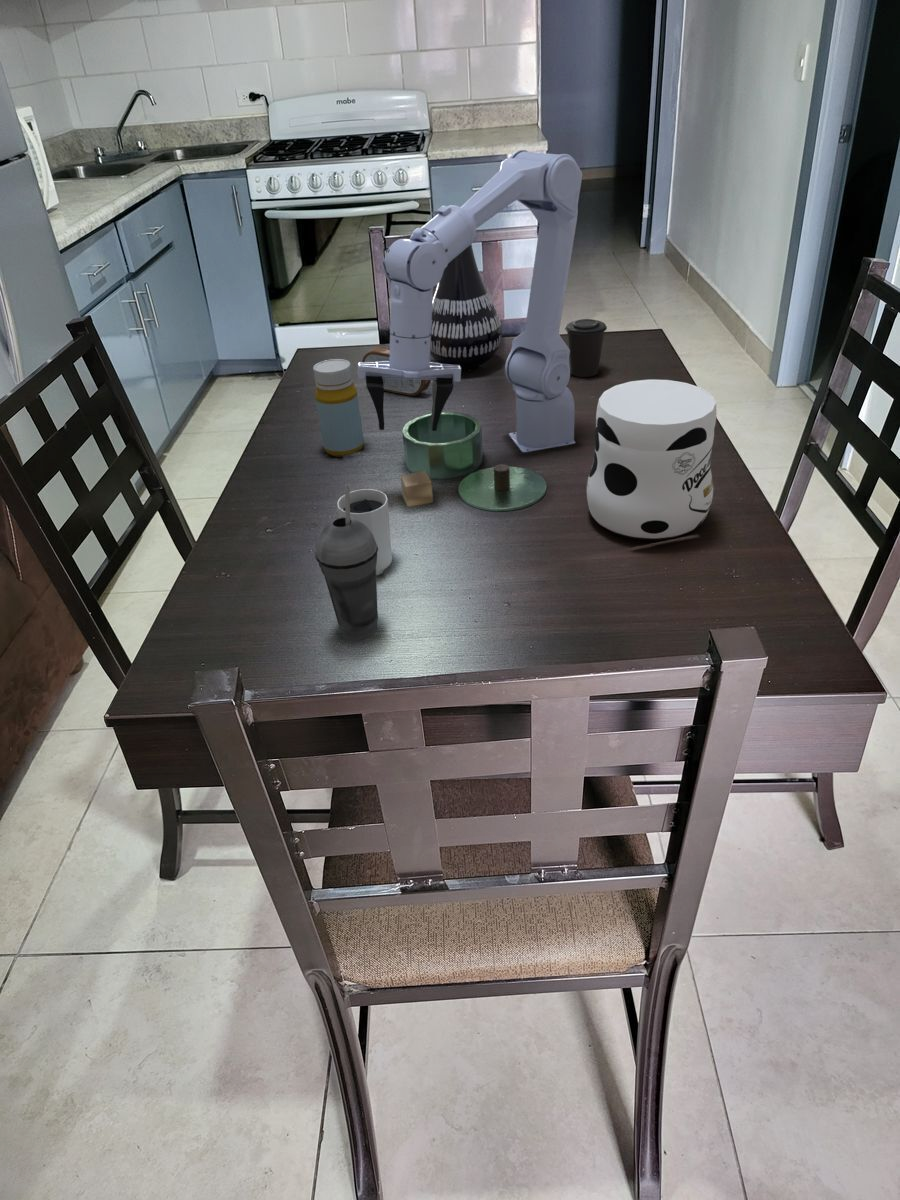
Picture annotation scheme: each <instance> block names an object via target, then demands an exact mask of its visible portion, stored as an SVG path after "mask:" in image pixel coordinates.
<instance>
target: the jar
mask: <svg viewBox="0 0 900 1200" xmlns="http://www.w3.org/2000/svg"><path fill="white" fill-rule="evenodd" d="M431 414H432V413H427V414H423V415H420V416H417V417H415V418H412V419H411V420H409V421H408V422H407V423H405V425H404V426H403V429H402V431H401V434H402V443H403V453H404V460H405V466H406V468H407V470H408V471H409V472H411V473H416V472H422V471H426V473H427V475H428V477H429V478H430V480H432V479H433V480H448V479H454V478H460V477H464V476H465V475H469V474H471V473H474V472H475V471H476V470H477V469H478V468H479V467H480V466H482V462H483V459H484V455H483V435H482V434H483V433H482V430H483V429H482V424H481V422H480V421H479V419H478V418H476V417H474V416H472V415H469V414H467V413H462V412H456V411H455V412H454V411H444V412H443V411H442V412H441V415H440V418H439V421H438V425H437V431H432V429H431Z"/></svg>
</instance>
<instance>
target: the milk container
mask: <svg viewBox="0 0 900 1200" xmlns="http://www.w3.org/2000/svg"><path fill="white" fill-rule="evenodd" d="M716 423H717V402H716V400H715V398H714V396H713V394H711V393H710V392H708V391H707V390H706V389H704V388H703V387H700V386H697V385H694V384H691V383H688V382H684V381H677V380H671V379H640V380H632V381H631V380H630V381H627V382H623V383H620V384H619V383H618V384H616V385H614V386H612V387H609V388H608V389H607V390H604V391H603V393H602V394H601V395H600V397H599V398H598V401H597V406H596V413H595V431H594V456H593V461H592V464H591V468H590V470H589V474H588V477H587V482H586V501H587V506H588V511H589V512H590V515H591V517H592V518H593V519H594V521H595V522H596V524H597V525H599V526H600V527H602V528H604V529H605V530H607V531H608V532H610V533H613V534H615V535H616V536H620V537H624V538H628V539H631V540H637V541H650V542H655V541H663V540H672V539H675V538H677V537H678V538H679V537H681V536H685V535H687V534H689V533H691V532H694V531H695V530H696V529H697V528H698V527H700V526H701V525H702V524H703V522H704V521H705V520H706V518H707V516H708V514H709V511H710V509H711V505H712V502H713V498H714V497H713V496H714V482H713V481H714V480H713V474H712V468H711V457H712V451H713V446H714V439H715V427H716Z"/></svg>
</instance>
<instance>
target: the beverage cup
mask: <svg viewBox="0 0 900 1200" xmlns="http://www.w3.org/2000/svg"><path fill="white" fill-rule="evenodd" d="M350 488H351V487H350V484H345V485H344V495H345V517H340V516H339V517H336V518H334V519H331V520H329V522H327V523H326V524H325V525H324V526H323V527H322V528H321V530H320V532H319V533H318V536H317V539H316V543H315V560H316V562H318V565H319V568H320V571H321V573H322V574H323V575H324V580H325V583H326V586H327V590H328V594H329V597H330V600H331V604H332V607H333V610H334V615H335V617H336V621H337V624H338V626H339V629H340V633H341V636H342V637H343V638H344V639H345V640H347V641H350V642H351V641H352V642H362V641H366V640H368V639H371V638H372V637H374V636H376V633H377V632H378V629H379V628H378V627H379V626H378V619H379V613H378V588H377V586H378V585H377V575H376V564H377V552H378V547H377V544H376V541H375V539H374V536H373V534H372V532H371V530H370V529H369V528H368V527H367V526H366V525H365V524H364V523H363V522H361V521H359V520H357V519H355V518H351V517H350V492H351V491H350V490H351V489H350Z"/></svg>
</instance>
